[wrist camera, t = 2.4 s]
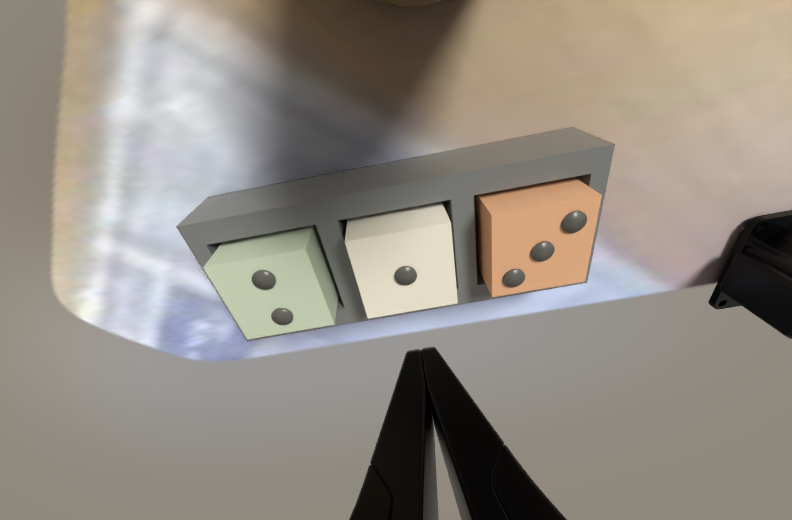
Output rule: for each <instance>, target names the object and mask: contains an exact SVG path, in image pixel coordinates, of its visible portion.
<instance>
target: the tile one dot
mask: <svg viewBox="0 0 792 520" xmlns="http://www.w3.org/2000/svg"><path fill="white" fill-rule="evenodd" d="M345 245H346V248H347V251H348V255H349V258H350V261H351V265H352V268H353V271H354V275H355V278H356V281H357V285H358V288H359V291H360V294H361V298H362V301H363V304H364V308H365V311H366V314H367V318H368V319H370V318H376V317H381V316H387V315H393V314H399V313H405V312H411V311H416V310H422V309H428V308H434V307H440V306H445V305H451V304H457V303H458V299H457V287H456V276H455V264H454V252H453V241H452V229H451V222H450V219H449V217H448V215H447V213H446V210H445V208H444V206H443V204H442V202H435V203H430V204H424V205H419V206H414V207H408V208H403V209H397V210H392V211H387V212H381V213H376V214H370V215H365V216H360V217H354V218H349V219H348V220H347V228H346V235H345Z"/></svg>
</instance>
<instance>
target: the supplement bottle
mask: <svg viewBox="0 0 792 520" xmlns="http://www.w3.org/2000/svg"><path fill="white" fill-rule="evenodd" d="M381 1H384V2H387V3H390V4H395V5H399V6H410V7H411V6H424V5H430V4H433V3H436V2H439V1H442V0H381Z"/></svg>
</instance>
